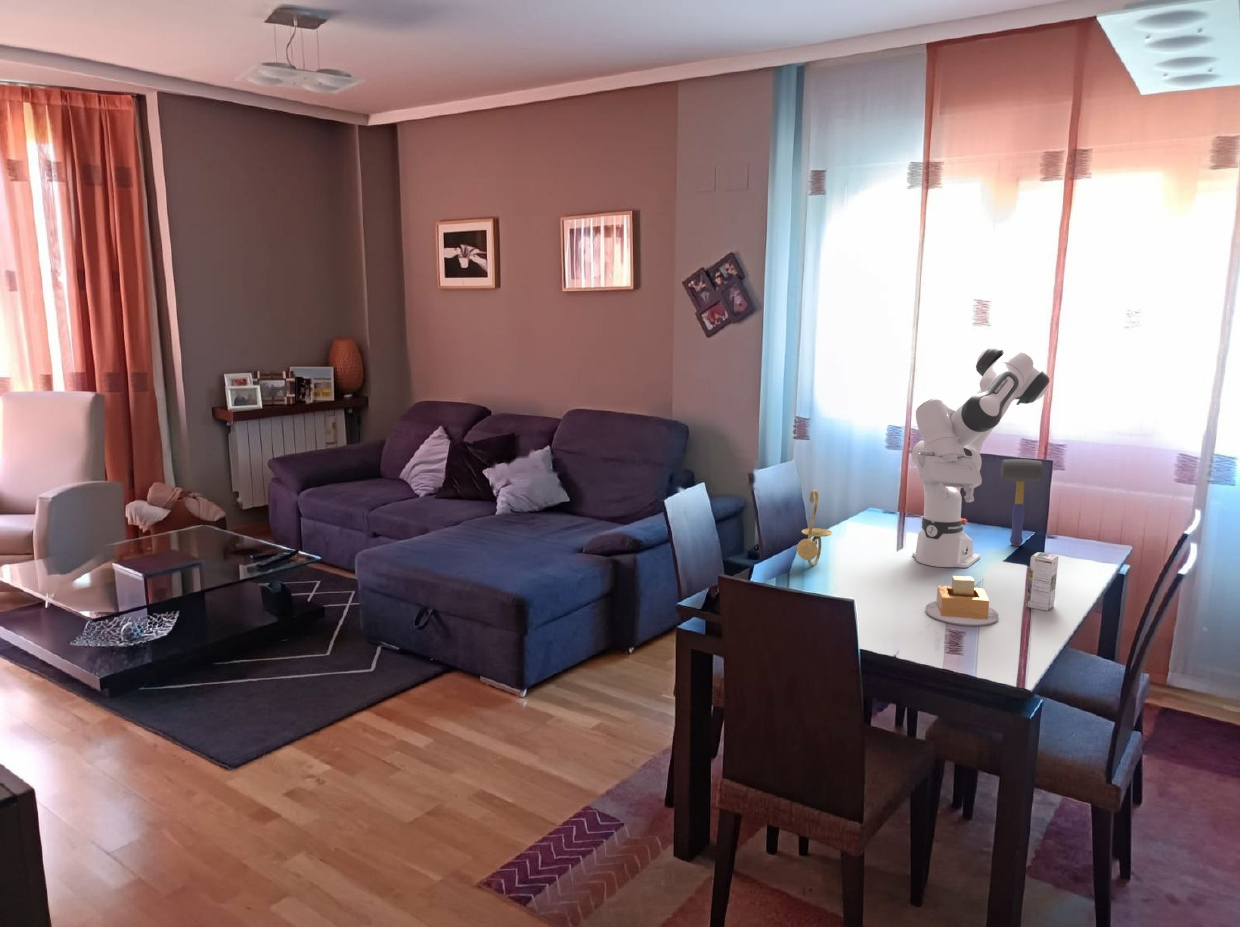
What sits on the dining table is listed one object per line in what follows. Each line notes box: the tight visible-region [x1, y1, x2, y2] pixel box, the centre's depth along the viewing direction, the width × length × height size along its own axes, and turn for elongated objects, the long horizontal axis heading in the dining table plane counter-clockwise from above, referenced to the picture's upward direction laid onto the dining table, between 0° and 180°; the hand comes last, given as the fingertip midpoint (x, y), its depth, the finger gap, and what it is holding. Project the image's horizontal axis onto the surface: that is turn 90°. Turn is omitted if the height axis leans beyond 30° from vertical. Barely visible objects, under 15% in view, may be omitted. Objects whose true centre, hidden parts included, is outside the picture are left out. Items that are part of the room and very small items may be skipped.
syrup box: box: [1025, 551, 1060, 612], centre depth 239 cm, size 6×6×14 cm
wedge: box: [951, 575, 975, 597], centre depth 233 cm, size 4×5×9 cm
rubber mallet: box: [1000, 458, 1044, 547], centre depth 300 cm, size 12×8×30 cm, turn 74°
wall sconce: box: [796, 489, 833, 567], centre depth 277 cm, size 14×10×25 cm
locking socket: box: [925, 585, 999, 627], centre depth 233 cm, size 18×18×6 cm
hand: (958, 500), depth 237 cm, fingers open, 8 cm apart
